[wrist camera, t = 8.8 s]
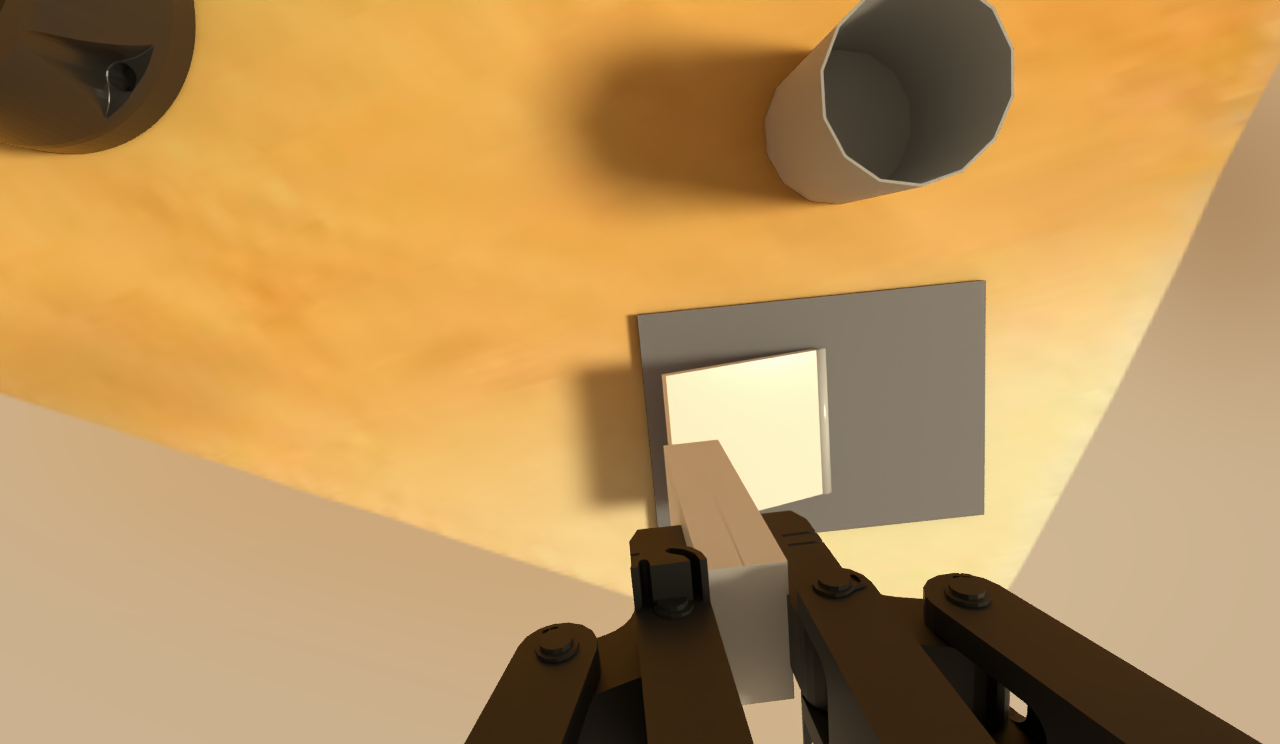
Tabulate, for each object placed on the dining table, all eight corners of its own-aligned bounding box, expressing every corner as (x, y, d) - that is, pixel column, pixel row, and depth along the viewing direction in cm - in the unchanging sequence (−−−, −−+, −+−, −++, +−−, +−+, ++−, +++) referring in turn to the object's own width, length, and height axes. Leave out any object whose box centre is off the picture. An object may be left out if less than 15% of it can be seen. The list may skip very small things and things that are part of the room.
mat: (637, 314, 38) (637, 315, 37) (981, 280, 38) (985, 280, 38) (659, 545, 41) (660, 549, 40) (979, 511, 41) (984, 514, 41)
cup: (754, 194, 37) (805, 172, 27) (775, 43, 35) (836, -37, 26) (894, 210, 37) (994, 195, 28) (920, 62, 36) (1035, -9, 26)
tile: (666, 376, 34) (660, 373, 35) (680, 532, 36) (674, 526, 36) (828, 348, 37) (819, 347, 38) (834, 491, 39) (825, 487, 40)
